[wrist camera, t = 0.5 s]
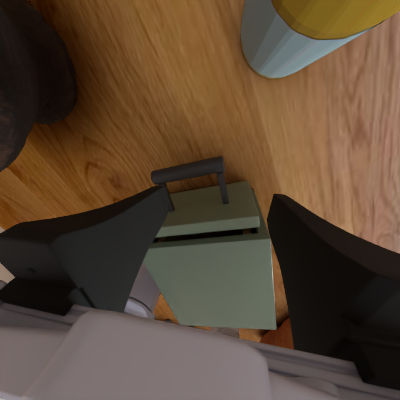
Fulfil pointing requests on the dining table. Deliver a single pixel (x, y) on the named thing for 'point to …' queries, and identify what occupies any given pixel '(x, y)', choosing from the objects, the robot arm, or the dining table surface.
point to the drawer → (206, 204)
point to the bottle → (304, 30)
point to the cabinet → (217, 279)
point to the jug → (30, 76)
